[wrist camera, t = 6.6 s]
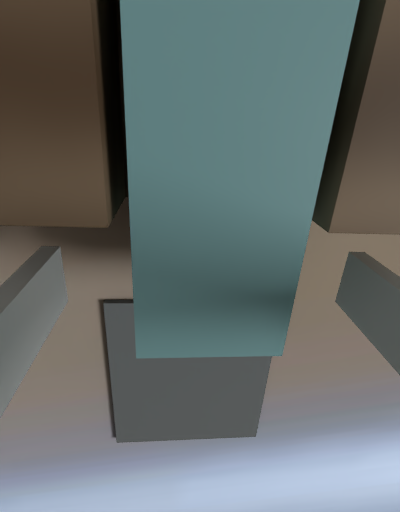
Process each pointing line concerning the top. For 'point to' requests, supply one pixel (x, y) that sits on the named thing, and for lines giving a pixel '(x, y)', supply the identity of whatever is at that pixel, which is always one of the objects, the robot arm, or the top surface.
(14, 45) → the block
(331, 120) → the slab
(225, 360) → the mat
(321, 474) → the top surface
